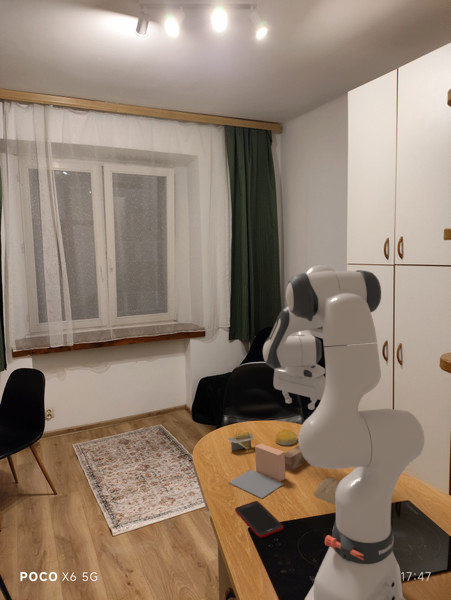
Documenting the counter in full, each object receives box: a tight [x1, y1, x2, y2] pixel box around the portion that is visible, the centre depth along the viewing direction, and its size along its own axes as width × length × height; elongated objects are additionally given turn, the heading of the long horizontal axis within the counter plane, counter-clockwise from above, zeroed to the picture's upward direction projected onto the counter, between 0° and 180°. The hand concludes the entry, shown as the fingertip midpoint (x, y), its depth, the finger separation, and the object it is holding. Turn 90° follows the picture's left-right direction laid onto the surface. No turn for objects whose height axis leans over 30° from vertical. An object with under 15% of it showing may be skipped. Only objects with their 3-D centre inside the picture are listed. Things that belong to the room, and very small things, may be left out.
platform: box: [227, 431, 254, 452], centre depth 161 cm, size 12×18×7 cm, turn 108°
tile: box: [254, 443, 286, 482], centre depth 141 cm, size 3×10×9 cm, turn 44°
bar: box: [284, 444, 308, 472], centre depth 149 cm, size 16×4×5 cm, turn 134°
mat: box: [228, 469, 284, 500], centre depth 136 cm, size 10×14×1 cm
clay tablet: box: [313, 477, 341, 506], centre depth 129 cm, size 14×10×3 cm
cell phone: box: [234, 500, 284, 539], centre depth 118 cm, size 8×15×1 cm, turn 26°
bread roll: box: [274, 429, 298, 447], centre depth 166 cm, size 8×9×4 cm
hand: (299, 405), depth 148 cm, fingers open, 8 cm apart
